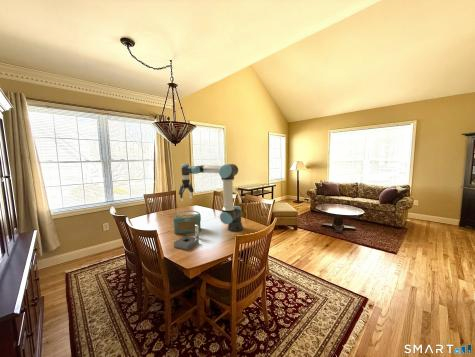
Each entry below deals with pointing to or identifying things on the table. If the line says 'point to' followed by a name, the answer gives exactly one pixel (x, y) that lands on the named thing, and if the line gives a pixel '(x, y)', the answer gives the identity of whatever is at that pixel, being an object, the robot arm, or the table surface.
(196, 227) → the chuck key
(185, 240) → the chuck block
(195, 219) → the radio
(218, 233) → the table surface
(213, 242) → the table surface
